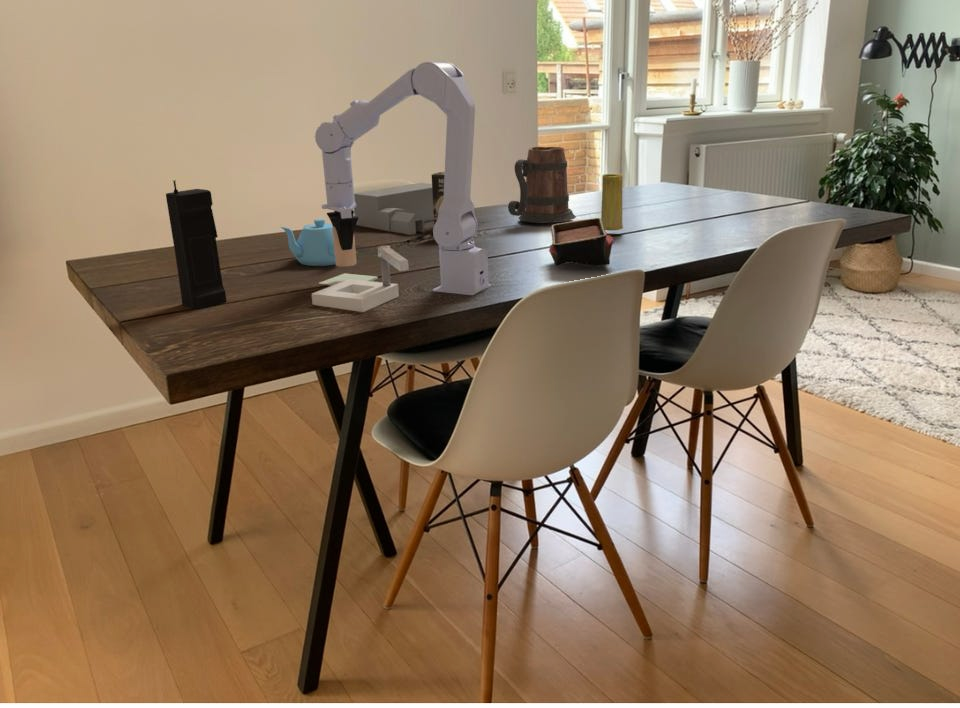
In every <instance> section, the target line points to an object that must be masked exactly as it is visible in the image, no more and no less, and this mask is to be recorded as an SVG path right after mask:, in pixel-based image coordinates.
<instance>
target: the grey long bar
mask: <svg viewBox="0 0 960 708" xmlns="http://www.w3.org/2000/svg"><path fill="white" fill-rule="evenodd" d="M377 257H378V258H383V259H384V260H386V261H387V262H389V265H391V266H393V267H394V268H395V269H396V270H398V271H399V272H405V271H410V269H409V267H410V266H409V260H408V259H407V258H405V256H402V255H401V254H400V253H398V252H396V251H395V250H394V249H393V248H391V246H390V245H380V246H377Z"/></svg>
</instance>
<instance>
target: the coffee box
mask: <svg viewBox="0 0 960 708" xmlns="http://www.w3.org/2000/svg"><path fill="white" fill-rule="evenodd" d="M444 176H445V171H444V172H442V171H440V172H435V173H432V174H431V184H432V194H433V215H434V220H433V226H434V225H435V223H436V221H437V219H438V211H439V208H440V206H441V203H442V201H443V198H444Z"/></svg>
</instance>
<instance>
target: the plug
mask: <svg viewBox="0 0 960 708" xmlns="http://www.w3.org/2000/svg"><path fill="white" fill-rule="evenodd" d="M332 231H333V241H334V251H335V261H336V264H335V266H336V267H339V268H341V267H345V268H346V267H353V266H356V265H357V262H358V261H357V253H356V251H357V249H356V241H355V239H356V238H355V236H354V237H353V246H352V249H351V250H342V249H341V246H340V243H339V239H338V235H337V231H336V229H335V227H332Z"/></svg>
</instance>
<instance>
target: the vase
mask: <svg viewBox="0 0 960 708" xmlns="http://www.w3.org/2000/svg"><path fill="white" fill-rule="evenodd" d="M601 181H602V183H601V187H602V188H601V191H602V192H601V194H602V195H601V214H600V216H601V217H600V218H601V219H602V222H603V225H604V229H605V231H620V230H623V229H624V226H623V225H624V224H623V174H621V173H604V174H602V180H601Z"/></svg>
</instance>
